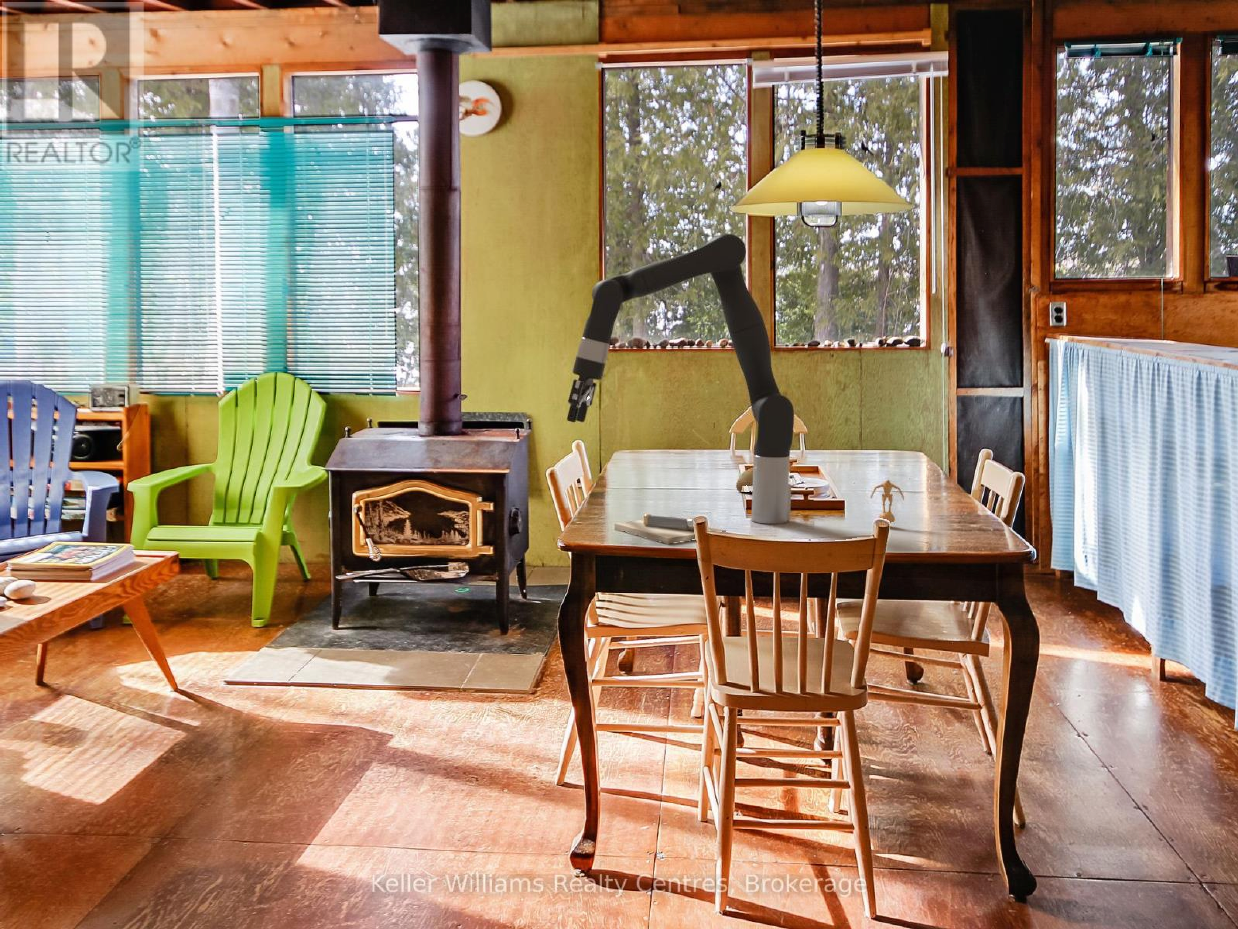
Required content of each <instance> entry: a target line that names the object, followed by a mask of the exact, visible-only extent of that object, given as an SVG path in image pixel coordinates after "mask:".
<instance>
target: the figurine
mask: <svg viewBox="0 0 1238 929" xmlns="http://www.w3.org/2000/svg"><path fill="white" fill-rule="evenodd" d="M880 488H882V489H883V492H884V493H882V494H881V501H882V512H881V514H879V516H878V519H879V518H883V519H887V520H889V521H890V523H891V522H894V521H896V520H895V519H896V518H895V515H894V514H893V513H892V509H891V507H892V505H893V504H892V503H893V497H894V496H893V493H891V491H892V488H893V489H896V490H898V491H899V493H900V495H901V498H902V501H904V500H905V497H904V495H903V492H902V491H901V488H900V487H899V486H897V485H895V484H894V483H892V482H891V480H889V479H887V480H885V481H884V482H883V483H880V484H879V485H876V486H875V487H874V489H873V491H872V492H871V495H870V499H873V497H874V494H875V492H876V490H877V489H880ZM887 499H888V501H889V504H888V511H886V501H887ZM894 523H895V522H894Z"/></svg>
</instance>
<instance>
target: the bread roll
mask: <svg viewBox="0 0 1238 929" xmlns="http://www.w3.org/2000/svg"><path fill="white" fill-rule="evenodd" d="M746 485H747V486H753V467H750V468H749V469H747V470H745V471H743V472H742V473H741V475H740V476H739V477H738V479H737V481H736V484H735V488H736V490H737V491H738V492H739V493H741V492H740V491H741V490H742V486H746Z"/></svg>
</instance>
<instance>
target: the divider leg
mask: <svg viewBox="0 0 1238 929" xmlns="http://www.w3.org/2000/svg"><path fill="white" fill-rule="evenodd" d="M673 517H674V516H672V517H671V516H660V515H653V514H650V513H645V514H643V520H644V522H643V525H650V526H660V527H670V528H680V529H687V530H694V527H693V520H694V518H695V517H688V518H681V517H676V518H673Z"/></svg>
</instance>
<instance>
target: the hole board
mask: <svg viewBox="0 0 1238 929" xmlns="http://www.w3.org/2000/svg"><path fill="white" fill-rule="evenodd" d="M670 517H673V518H677V516H676V517H675V516H671V515H670ZM643 522H644V519H640V520H633V521H623V522H615V523H614V530H617V531H618V532H619V531H620V532H622V531H625V532H624V533H626V532H627V534H629V533H630V534H629V535H633V534H636V535H639V536H638V537H640V536H641V538H643V537H647V538H649V539H648V540H650V539H652V540H651V541H654V540H655V541H654V542H657V541H661V542H663V543H662V544H664V543H666V544H665V545H670V544H669V543H674V542H680V541H689V540H692V539H695V534H694V530H687V529H680V528H670V527H660V526H650V525H643ZM708 529H709V530H710V531H722V532H726V533H727V530H726V529H722V528H719V527H716V526H711V525H708ZM636 535H635V536H636ZM647 538H646V539H647ZM661 542H660V543H661ZM689 542H690V541H689ZM674 544H675V543H674Z"/></svg>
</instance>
